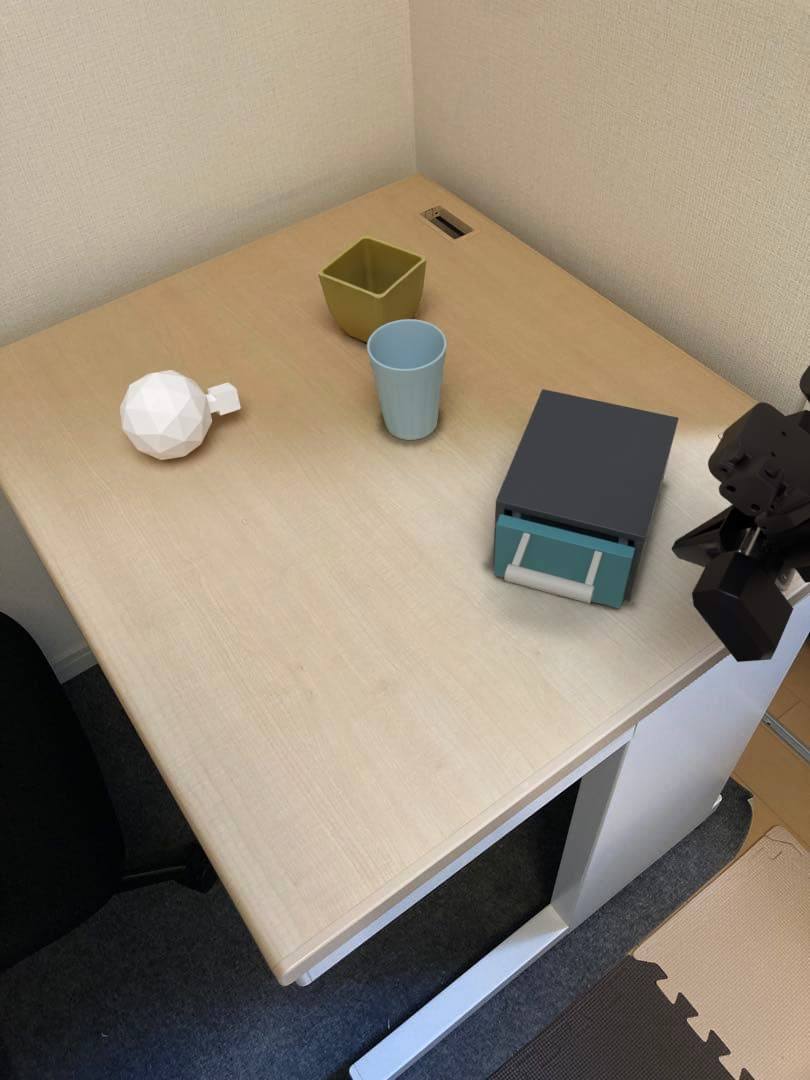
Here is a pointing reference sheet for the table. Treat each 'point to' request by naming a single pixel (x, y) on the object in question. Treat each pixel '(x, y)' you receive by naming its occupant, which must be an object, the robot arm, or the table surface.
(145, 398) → the perfume bottle
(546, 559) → the teal drawer
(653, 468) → the drawer cabinet
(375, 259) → the flower pot
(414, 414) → the cup
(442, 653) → the table surface
